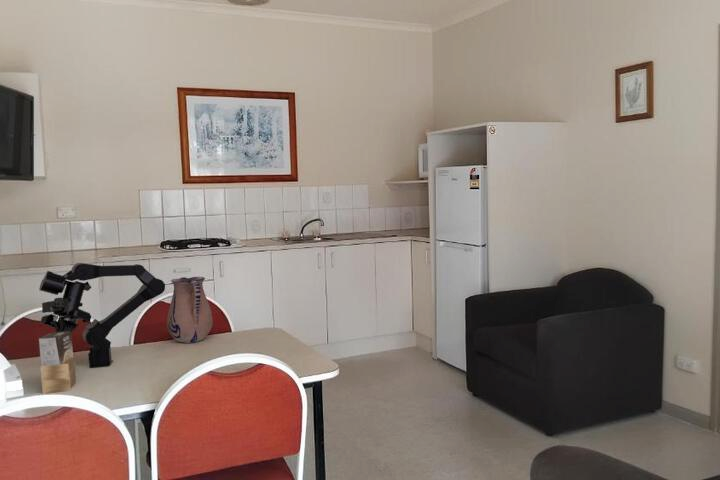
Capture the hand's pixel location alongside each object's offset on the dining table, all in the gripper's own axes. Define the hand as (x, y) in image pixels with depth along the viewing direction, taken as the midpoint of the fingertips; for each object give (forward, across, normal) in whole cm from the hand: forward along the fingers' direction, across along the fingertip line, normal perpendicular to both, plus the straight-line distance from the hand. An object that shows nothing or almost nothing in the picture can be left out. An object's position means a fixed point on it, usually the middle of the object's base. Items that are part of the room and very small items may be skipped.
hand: (58, 343), depth 201 cm
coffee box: (+14, +7, 0) cm, 16 cm away
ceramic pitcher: (-16, +5, +52) cm, 55 cm away
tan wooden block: (+15, +9, -1) cm, 18 cm away
